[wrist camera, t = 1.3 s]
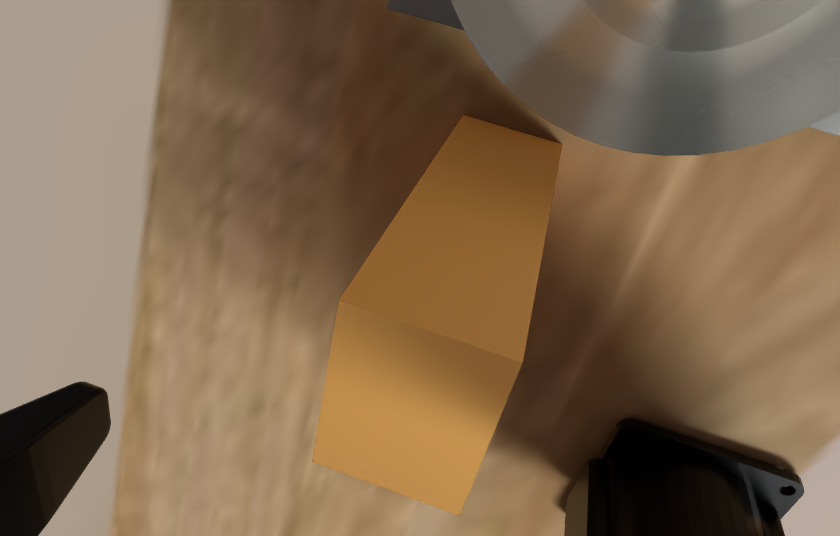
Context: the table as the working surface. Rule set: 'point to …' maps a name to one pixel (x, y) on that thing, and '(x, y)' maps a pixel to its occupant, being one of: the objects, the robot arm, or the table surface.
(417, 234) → the orange rectangular prism
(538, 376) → the table surface
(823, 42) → the bracket
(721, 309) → the table surface
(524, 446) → the table surface
